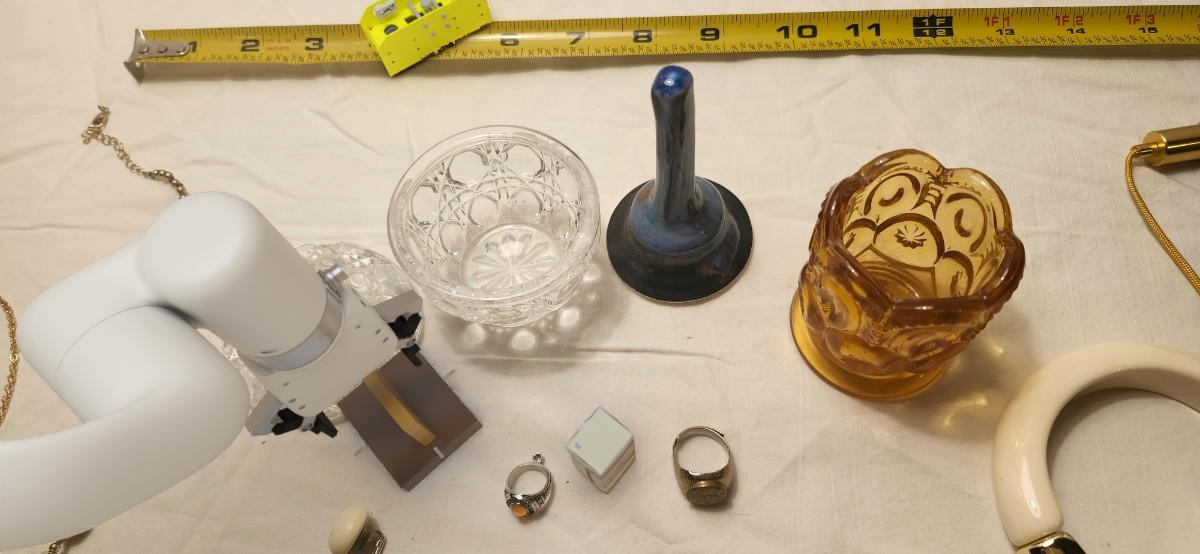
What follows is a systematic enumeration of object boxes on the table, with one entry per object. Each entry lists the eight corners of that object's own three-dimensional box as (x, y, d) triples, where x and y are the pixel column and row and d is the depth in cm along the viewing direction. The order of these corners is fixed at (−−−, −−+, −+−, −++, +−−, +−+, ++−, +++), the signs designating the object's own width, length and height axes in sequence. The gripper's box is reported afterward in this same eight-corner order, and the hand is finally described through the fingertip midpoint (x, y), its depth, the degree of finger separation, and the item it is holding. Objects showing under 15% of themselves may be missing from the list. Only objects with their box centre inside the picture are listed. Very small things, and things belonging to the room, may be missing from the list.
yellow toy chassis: (475, 2, 105) (460, -46, 98) (495, 26, 103) (481, -21, 96) (376, 55, 103) (352, 10, 95) (393, 81, 101) (370, 37, 93)
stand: (498, 419, 79) (492, 413, 77) (399, 507, 76) (390, 503, 74) (425, 336, 84) (418, 328, 82) (330, 416, 81) (319, 409, 79)
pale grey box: (607, 496, 75) (598, 478, 66) (574, 468, 76) (561, 447, 67) (640, 456, 76) (635, 433, 67) (607, 429, 78) (598, 403, 68)
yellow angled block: (436, 437, 76) (414, 419, 70) (425, 447, 76) (402, 430, 69) (386, 378, 80) (360, 355, 73) (375, 386, 79) (349, 365, 73)
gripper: (355, 214, 57) (420, 303, 73) (158, 361, 53) (271, 423, 69) (411, 275, 55) (466, 355, 70) (208, 436, 50) (314, 483, 66)
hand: (370, 389), depth 69 cm, fingers open, 9 cm apart
